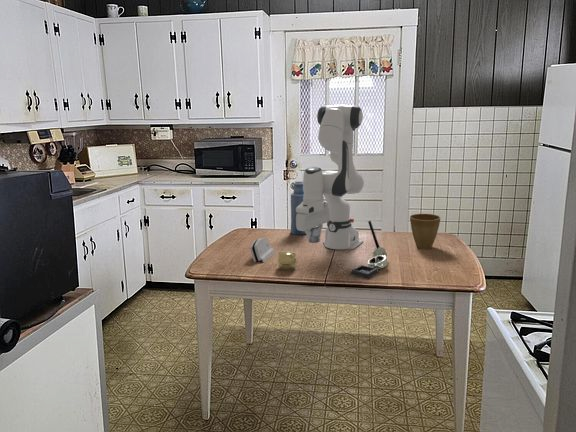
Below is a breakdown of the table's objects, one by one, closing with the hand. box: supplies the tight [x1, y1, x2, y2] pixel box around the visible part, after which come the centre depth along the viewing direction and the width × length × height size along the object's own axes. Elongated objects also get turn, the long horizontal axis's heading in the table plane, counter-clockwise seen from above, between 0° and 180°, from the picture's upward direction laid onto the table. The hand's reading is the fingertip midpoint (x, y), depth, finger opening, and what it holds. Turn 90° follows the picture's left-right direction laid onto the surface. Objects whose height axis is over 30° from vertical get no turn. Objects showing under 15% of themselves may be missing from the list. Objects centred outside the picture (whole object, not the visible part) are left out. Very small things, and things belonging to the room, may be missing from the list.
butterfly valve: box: [367, 220, 389, 271], centre depth 220 cm, size 9×20×17 cm
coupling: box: [307, 226, 321, 244], centre depth 213 cm, size 6×6×6 cm
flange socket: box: [349, 264, 380, 280], centre depth 212 cm, size 9×9×2 cm
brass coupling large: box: [277, 250, 297, 272], centre depth 220 cm, size 8×8×7 cm
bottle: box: [290, 180, 306, 236], centre depth 275 cm, size 10×10×30 cm
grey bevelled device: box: [249, 237, 275, 264], centre depth 237 cm, size 17×5×10 cm, turn 163°
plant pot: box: [409, 213, 441, 250], centre depth 247 cm, size 15×15×16 cm
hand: (313, 236), depth 213 cm, fingers closed on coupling, 6 cm apart
